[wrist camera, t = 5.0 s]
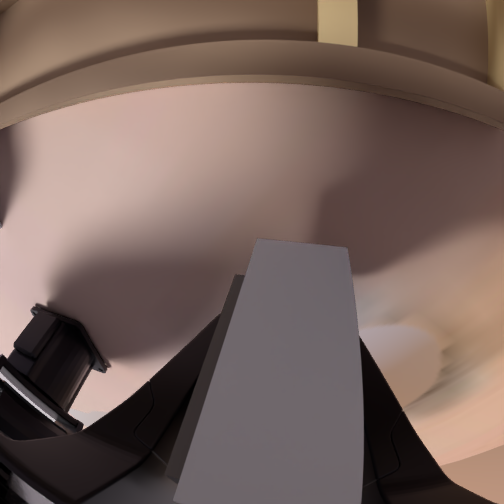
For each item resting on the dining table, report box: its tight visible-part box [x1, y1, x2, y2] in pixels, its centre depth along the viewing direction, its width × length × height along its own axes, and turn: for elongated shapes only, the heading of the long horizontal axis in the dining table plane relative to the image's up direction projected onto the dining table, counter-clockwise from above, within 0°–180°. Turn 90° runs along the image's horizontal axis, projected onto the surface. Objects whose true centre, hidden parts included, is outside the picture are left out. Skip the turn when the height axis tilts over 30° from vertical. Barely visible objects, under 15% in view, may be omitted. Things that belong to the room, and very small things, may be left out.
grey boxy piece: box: [164, 238, 364, 504], centre depth 8 cm, size 3×5×8 cm, turn 0°
